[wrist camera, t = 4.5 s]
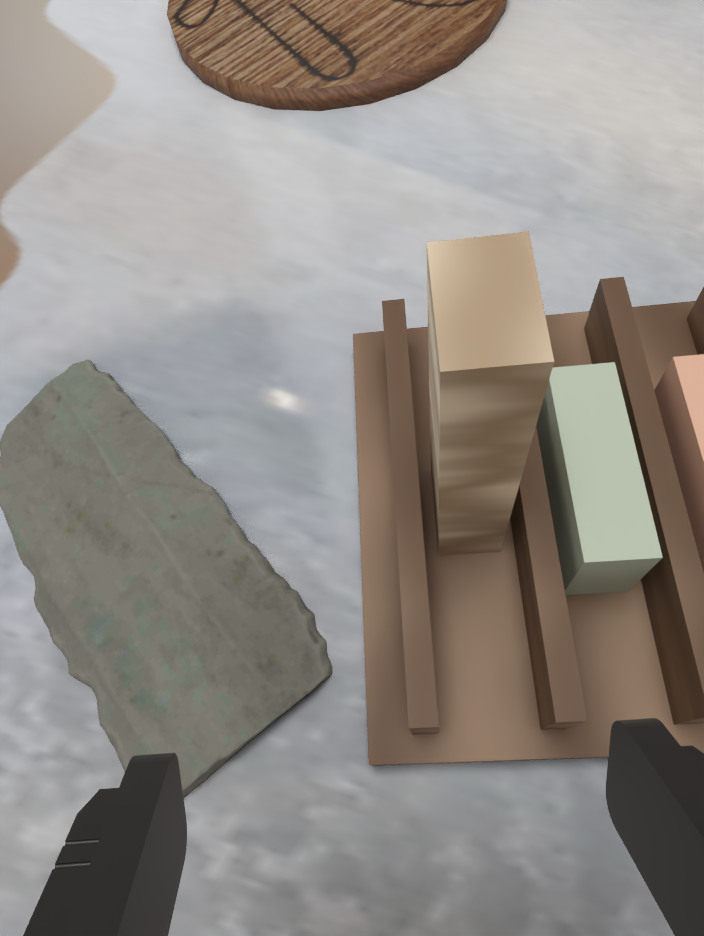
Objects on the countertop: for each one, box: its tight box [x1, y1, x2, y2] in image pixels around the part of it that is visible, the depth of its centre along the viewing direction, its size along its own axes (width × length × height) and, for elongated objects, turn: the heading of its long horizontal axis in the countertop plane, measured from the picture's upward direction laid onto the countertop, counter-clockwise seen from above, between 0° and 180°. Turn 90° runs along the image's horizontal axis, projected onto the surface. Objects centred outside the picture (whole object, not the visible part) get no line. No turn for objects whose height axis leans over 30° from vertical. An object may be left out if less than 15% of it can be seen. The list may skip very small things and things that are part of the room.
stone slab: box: [0, 360, 332, 798], centre depth 31 cm, size 22×3×10 cm
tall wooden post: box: [427, 232, 554, 556], centre depth 22 cm, size 3×4×14 cm, turn 2°
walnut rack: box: [353, 277, 704, 765], centre depth 27 cm, size 17×20×5 cm
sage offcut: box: [536, 362, 663, 595], centre depth 26 cm, size 3×8×4 cm, turn 2°
